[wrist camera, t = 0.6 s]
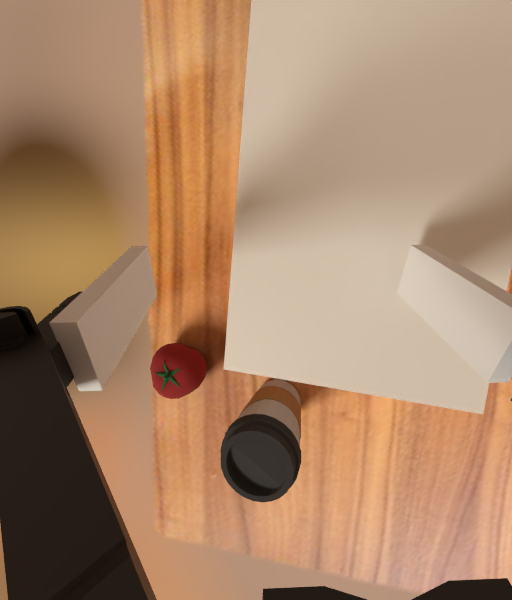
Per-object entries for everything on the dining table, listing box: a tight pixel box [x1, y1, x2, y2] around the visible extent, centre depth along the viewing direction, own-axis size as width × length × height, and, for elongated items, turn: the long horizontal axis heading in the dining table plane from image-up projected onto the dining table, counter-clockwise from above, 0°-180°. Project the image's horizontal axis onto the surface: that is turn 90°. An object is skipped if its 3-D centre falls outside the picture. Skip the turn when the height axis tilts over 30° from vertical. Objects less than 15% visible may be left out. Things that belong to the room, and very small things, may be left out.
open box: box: [224, 0, 512, 414], centre depth 26 cm, size 24×15×22 cm, turn 175°
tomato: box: [150, 343, 207, 399], centre depth 41 cm, size 8×8×7 cm
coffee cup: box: [221, 379, 301, 502], centre depth 34 cm, size 8×8×15 cm
